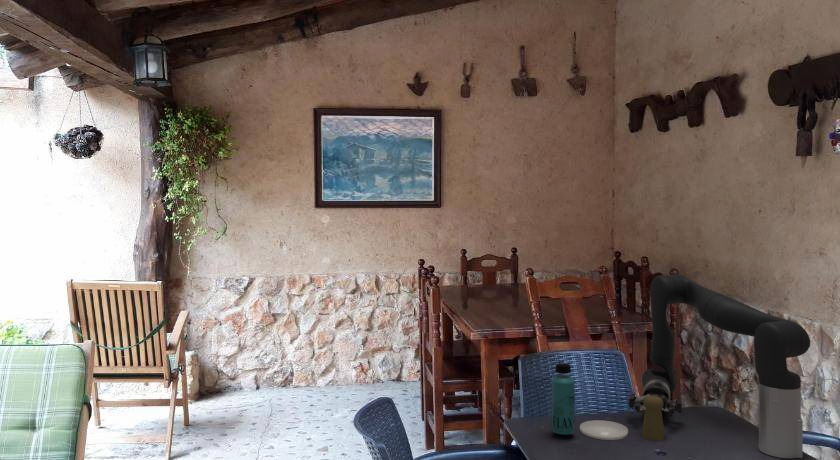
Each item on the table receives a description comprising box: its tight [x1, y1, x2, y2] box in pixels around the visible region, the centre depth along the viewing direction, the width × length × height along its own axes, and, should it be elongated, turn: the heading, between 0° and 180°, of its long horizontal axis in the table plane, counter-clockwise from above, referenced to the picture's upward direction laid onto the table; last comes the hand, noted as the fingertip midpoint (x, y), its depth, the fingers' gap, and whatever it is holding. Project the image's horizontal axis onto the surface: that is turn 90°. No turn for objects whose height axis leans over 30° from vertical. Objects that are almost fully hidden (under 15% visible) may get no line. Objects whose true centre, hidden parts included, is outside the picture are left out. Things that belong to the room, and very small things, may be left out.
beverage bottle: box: [550, 362, 576, 435], centre depth 168 cm, size 6×7×20 cm
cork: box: [641, 396, 666, 442], centre depth 167 cm, size 6×6×11 cm
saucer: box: [579, 419, 629, 441], centre depth 171 cm, size 13×13×1 cm
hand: (654, 410), depth 170 cm, fingers open, 8 cm apart
